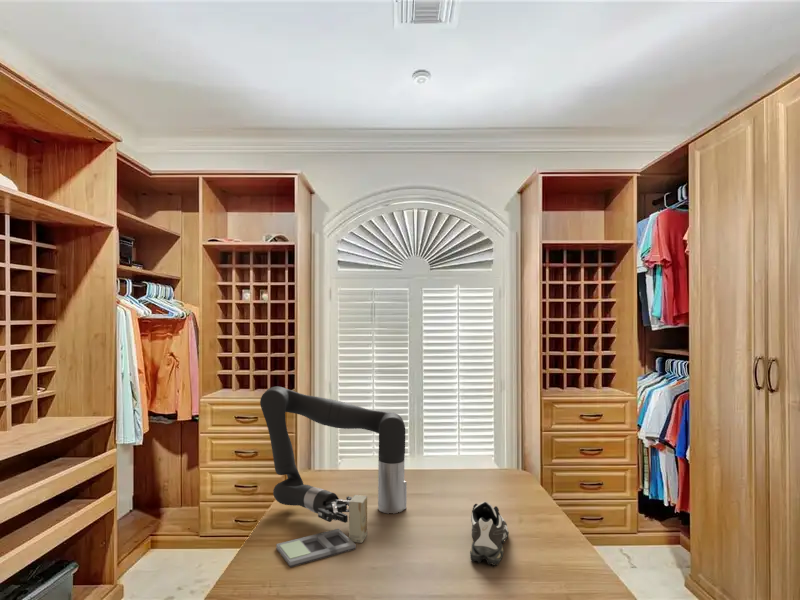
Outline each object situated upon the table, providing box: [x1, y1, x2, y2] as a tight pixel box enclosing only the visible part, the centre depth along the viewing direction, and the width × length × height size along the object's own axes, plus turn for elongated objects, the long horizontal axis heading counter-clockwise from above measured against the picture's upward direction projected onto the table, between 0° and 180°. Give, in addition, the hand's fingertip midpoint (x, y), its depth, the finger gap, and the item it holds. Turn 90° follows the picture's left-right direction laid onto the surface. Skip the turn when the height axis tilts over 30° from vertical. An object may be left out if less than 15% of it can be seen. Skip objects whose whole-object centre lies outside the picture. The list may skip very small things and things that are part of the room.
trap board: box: [275, 528, 357, 568], centre depth 148 cm, size 20×12×2 cm, turn 122°
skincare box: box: [348, 494, 368, 544], centre depth 155 cm, size 6×4×12 cm
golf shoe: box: [469, 501, 510, 566], centre depth 152 cm, size 12×30×14 cm, turn 171°
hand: (356, 514), depth 155 cm, fingers open, 8 cm apart
